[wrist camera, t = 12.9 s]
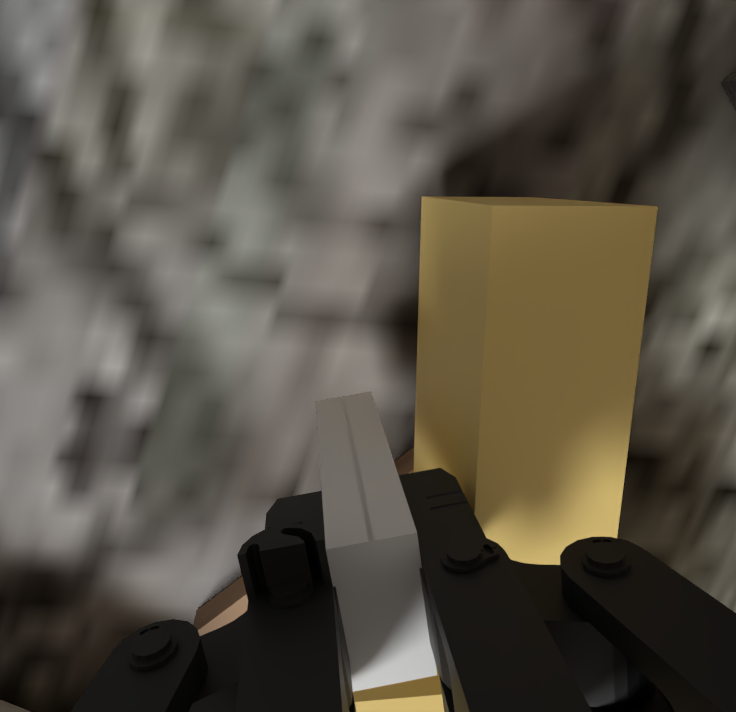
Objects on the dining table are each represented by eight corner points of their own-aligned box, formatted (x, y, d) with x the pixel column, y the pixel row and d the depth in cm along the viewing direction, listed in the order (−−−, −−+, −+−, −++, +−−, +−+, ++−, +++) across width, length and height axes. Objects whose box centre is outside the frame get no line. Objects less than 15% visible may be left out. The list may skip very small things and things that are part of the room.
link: (574, 761, 22) (673, 961, 17) (315, 787, 21) (325, 1011, 16) (640, 197, 17) (813, 207, 12) (305, 195, 16) (315, 204, 11)
